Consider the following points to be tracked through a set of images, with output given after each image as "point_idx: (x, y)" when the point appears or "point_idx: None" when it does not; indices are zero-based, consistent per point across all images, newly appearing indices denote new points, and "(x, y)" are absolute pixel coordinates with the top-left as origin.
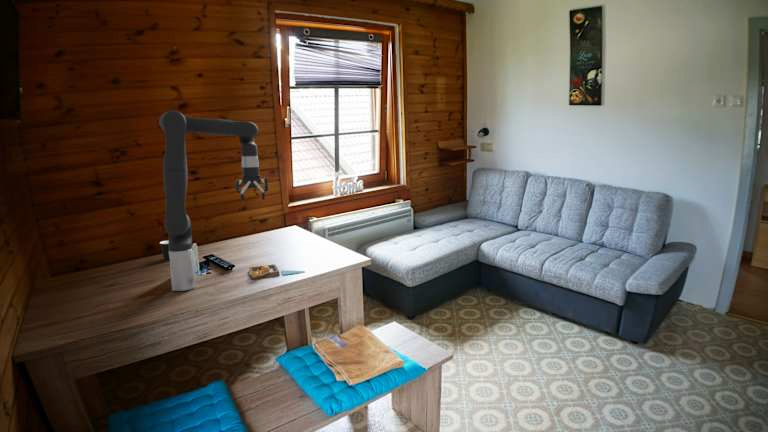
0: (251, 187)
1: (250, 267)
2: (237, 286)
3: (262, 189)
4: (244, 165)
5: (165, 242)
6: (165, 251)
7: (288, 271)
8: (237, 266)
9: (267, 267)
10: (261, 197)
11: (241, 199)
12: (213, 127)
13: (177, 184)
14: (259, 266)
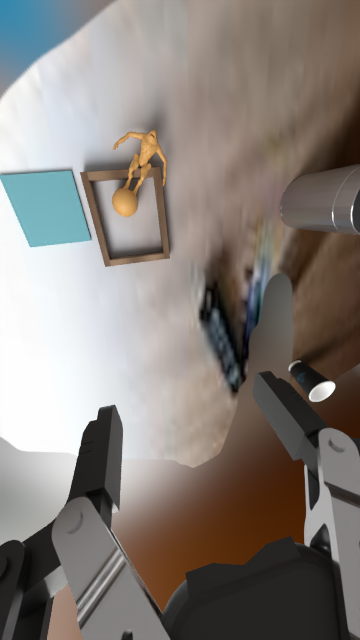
0: (259, 570)
1: (166, 255)
2: (195, 98)
3: (73, 561)
4: None
5: (321, 396)
6: (316, 372)
7: (60, 205)
8: (194, 308)
9: (116, 194)
10: (116, 440)
11: (287, 385)
12: None
13: None
14: (145, 257)
